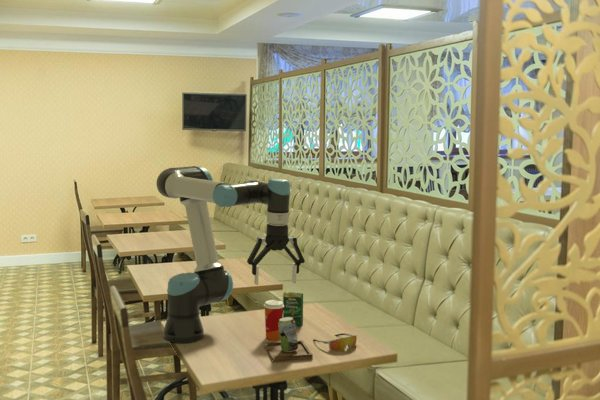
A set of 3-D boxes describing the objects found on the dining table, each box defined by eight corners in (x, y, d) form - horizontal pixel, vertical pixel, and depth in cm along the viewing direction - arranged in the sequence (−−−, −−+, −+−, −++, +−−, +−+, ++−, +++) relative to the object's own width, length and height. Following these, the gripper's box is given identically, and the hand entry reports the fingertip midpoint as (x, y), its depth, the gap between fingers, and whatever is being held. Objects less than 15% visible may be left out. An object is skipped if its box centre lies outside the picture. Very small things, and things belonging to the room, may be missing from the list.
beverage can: (296, 355, 229) (296, 322, 227) (275, 353, 230) (276, 320, 229) (299, 348, 235) (300, 316, 233) (279, 346, 236) (280, 314, 235)
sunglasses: (332, 354, 234) (332, 340, 233) (309, 347, 246) (308, 333, 246) (363, 347, 241) (362, 333, 241) (339, 340, 254) (338, 327, 254)
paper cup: (268, 333, 253) (269, 298, 251) (286, 336, 250) (287, 301, 248) (259, 339, 245) (260, 303, 243) (278, 343, 243) (279, 306, 241)
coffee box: (281, 324, 264) (282, 292, 262) (284, 322, 267) (285, 290, 265) (300, 326, 261) (301, 295, 259) (303, 324, 264) (304, 293, 262)
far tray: (265, 347, 238) (265, 342, 238) (302, 345, 241) (302, 340, 241) (273, 362, 224) (273, 357, 224) (312, 359, 228) (312, 354, 228)
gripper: (244, 226, 219) (242, 287, 222) (315, 225, 226) (312, 284, 229) (240, 221, 226) (238, 281, 229) (308, 221, 233) (306, 278, 236)
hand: (275, 283), depth 229 cm, fingers open, 13 cm apart
